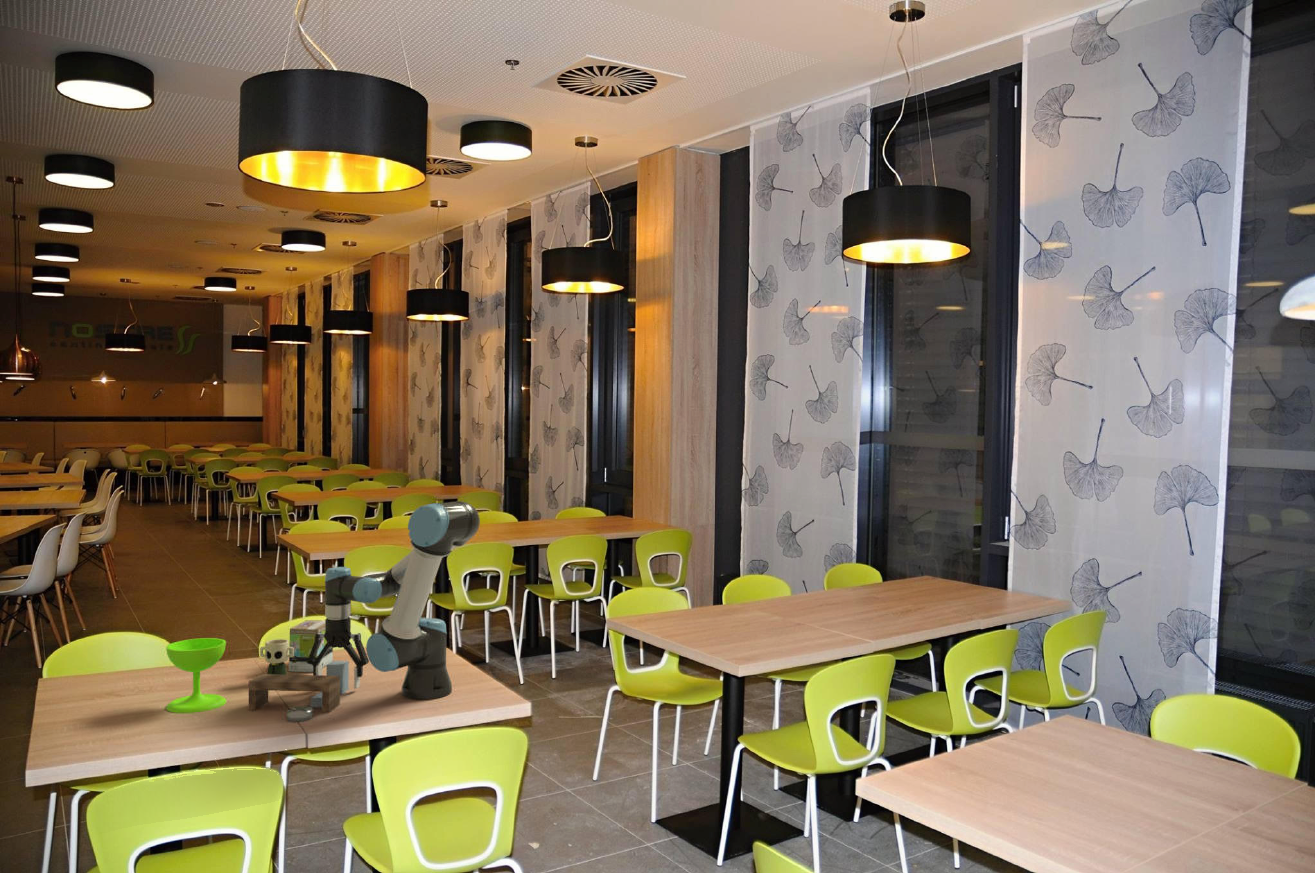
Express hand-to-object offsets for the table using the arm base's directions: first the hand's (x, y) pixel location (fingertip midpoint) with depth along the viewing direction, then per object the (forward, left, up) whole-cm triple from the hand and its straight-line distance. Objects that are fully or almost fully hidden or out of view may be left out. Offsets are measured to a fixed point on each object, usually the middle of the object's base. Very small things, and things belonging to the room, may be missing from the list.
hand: (337, 686), depth 295 cm
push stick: (0, +7, -1) cm, 7 cm away
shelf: (+6, +17, -1) cm, 18 cm away
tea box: (+21, -28, -2) cm, 35 cm away
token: (0, +27, -2) cm, 27 cm away
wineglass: (+36, +17, -2) cm, 40 cm away
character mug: (+24, -9, -2) cm, 26 cm away
